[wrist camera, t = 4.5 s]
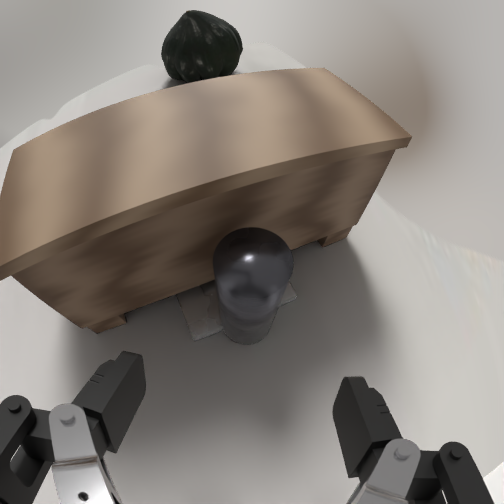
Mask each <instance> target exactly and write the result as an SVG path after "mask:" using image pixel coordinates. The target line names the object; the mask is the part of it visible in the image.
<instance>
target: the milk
mask: <svg viewBox="0 0 504 504" xmlns="http://www.w3.org/2000/svg"><path fill="white" fill-rule="evenodd" d="M483 480H484V482H485V484H486V486H487V489H488V491H489V493H490V495H491V497H492V499H493V502H494V504H504V462H503V463H501V464H500V465H499V466H498V467H497V468H495V469H494V470H493V471H492V472H490V473H489V474H488V475H487V476H485V477H484V478H483ZM447 504H448V503H447Z"/></svg>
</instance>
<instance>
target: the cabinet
mask: <svg viewBox="0 0 504 504" xmlns="http://www.w3.org/2000/svg"><path fill="white" fill-rule="evenodd" d="M411 138H412V136H411V135H410V134H409V133H408V132H406V131H405V130H404V129H403V128H402V127H401V126H400V125H399V124H398V123H396V122H395V121H394V120H393V119H392V118H391V117H389V116H388V115H387V114H386V113H384V111H382V110H381V109H380V108H379V107H377V106H376V105H375V104H374V103H372V102H371V101H370V100H368V99H367V98H366V97H365V96H363V95H362V94H361V93H359V92H358V91H357V90H355V89H354V88H353V87H351V86H350V85H348V84H347V83H346V82H344V81H343V80H341V79H340V78H338V77H337V76H336V75H334V74H333V73H331V72H330V71H328V70H326V69H325V68H303V69H284V70H271V71H261V72H252V73H244V74H237V75H230V76H224V77H218V78H212V79H207V80H201V81H196V82H192V83H187V84H183V85H178V86H174V87H170V88H166V89H162V90H158V91H155V92H151V93H148V94H144V95H141V96H137V97H134V98H131V99H128V100H125V101H122V102H119V103H116V104H113V105H110V106H107V107H105V108H102V109H99V110H97V111H94V112H91V113H89V114H86V115H84V116H81V117H79V118H77V119H74V120H72V121H70V122H67V123H65V124H63V125H61V126H59V127H56V128H54V129H52V130H50V131H48V132H46V133H44V134H42V135H40V136H38V137H36V138H34V139H32V140H30V141H29V142H27V143H25V144H23V145H21V146H19V147H18V148H16V149H14V150H13V153H12V156H11V159H10V162H9V165H8V169H7V172H6V176H5V179H4V183H3V187H2V191H1V195H0V281H1V280H3V279H5V278H7V277H9V276H12V277H13V278H15V279H16V280H17V281H18V282H19V283H21V284H22V285H23V286H24V287H25V288H27V289H28V290H29V291H30V292H32V293H33V294H34V295H36V296H37V297H38V298H39V299H41V300H42V301H43V302H45V303H46V304H47V305H49V306H50V307H51V308H53V309H54V310H56V311H57V312H58V313H60V314H61V315H63V316H64V317H66V318H67V319H68V320H70V321H71V322H73V323H74V324H76V325H77V326H79V327H80V328H85V327H88V328H89V329H91V330H92V331H94V332H95V333H100V332H103V331H106V330H108V329H111V328H114V327H117V326H120V325H122V324H125V323H126V319H125V316H124V313H126V312H129V311H131V310H134V309H137V308H140V307H142V306H145V305H148V304H150V303H153V302H156V301H159V300H161V299H164V298H167V297H169V296H172V295H175V294H177V293H180V292H183V291H185V290H188V289H191V288H193V287H196V286H199V285H201V284H204V283H207V282H209V281H212V280H215V276H214V269H213V255H214V251H215V249H216V247H217V245H218V243H219V242H220V241H221V240H222V239H223V238H224V237H225V236H226V235H227V234H229V233H231V232H232V231H235V230H237V229H241V228H246V227H258V228H263V229H266V230H269V231H271V232H273V233H275V234H277V235H278V236H280V237H281V238H282V239H283V240H284V241H285V242H286V244H287V245H288V247H289V248H290V250H293V249H295V248H298V247H300V246H303V245H306V244H308V243H311V242H313V241H316V240H318V242H319V243H320V245H321V246H322V247H325V246H327V245H330V244H332V243H334V242H337V241H339V240H342V239H344V238H346V237H347V235H348V234H349V232H350V230H351V228H352V226H354V225H356V224H357V223H358V221H359V219H360V217H361V216H362V214H363V212H364V210H365V208H366V206H367V205H368V203H369V201H370V199H371V197H372V195H373V193H374V192H375V190H376V188H377V186H378V184H379V182H380V180H381V178H382V176H383V174H384V172H385V170H386V168H387V166H388V164H389V162H390V160H391V158H392V156H393V154H394V152H395V150H396V149H399V148H404V147H407V146H408V144H409V142H410V140H411Z"/></svg>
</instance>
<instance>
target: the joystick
mask: <svg viewBox="0 0 504 504" xmlns="http://www.w3.org/2000/svg"><path fill="white" fill-rule="evenodd" d="M213 269H214V276H215V280H212V281H209V282H207V283H204V284H201V285H199V286H196V287H193V288H191V289H188V290H185V291H183V292H180V293H177V294H176V296H177V298H178V301H179V304H180V306H181V309H182V312H183V314H184V317H185V320H186V322H187V325H188V327H189V330H190V332H191V335H192V338H193V339H194V341H197V340H199V339H202V338H204V337H207V336H210V335H212V334H215V333H217V332H220V331H222V330H224V332H225V333H226V335H227V336H228V337H229V338H230V339H231V340H233V341H235V342H237V343H240V344H254V343H256V342H258V341H260V340H262V339H263V338H264V337H265V336H266V335H267V333H268V332H269V329H270V327H271V324H272V322H273V320H274V317H275V315H276V312H277V310H278V307H279V306H282V305H284V304H286V303H288V302H291V301H293V300H295V298H296V296H297V294H296V292H295V290H294V289H293V287H292V285H291V283H290V282H289V279H290V277H291V274H292V271H293V256H292V253H291V250H290V248H289V247H288V245H287V244H286V242H285V241H284V240H283V239H282V238H281V237H280V236H278V235H277V234H275V233H273V232H271V231H269V230H266V229H263V228H258V227H246V228H241V229H237V230H235V231H232V232H231V233H229V234H227V235H226V236H225V237H224V238H223V239H222V240H221V241H220V242H219V243H218V245H217V247H216V249H215V251H214V255H213Z"/></svg>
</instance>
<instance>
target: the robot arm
mask: <svg viewBox="0 0 504 504" xmlns="http://www.w3.org/2000/svg"><path fill="white" fill-rule="evenodd" d="M145 390H146V381H145V373H144V365H143V358H142V355H140V354H135V353H131V352H127V351H123V352H122V353H121V354H120V355H119V357H118V358H117V359H116V361H113V360H109V361H107V362H106V363H104V364H102V365H101V366H100V367H99V368H98V369H97V371H96V372H95V374H94V375H93V376H92V377H91V378H90V381H88V382H87V384H86V385H85V386H84V387H83V389H82V390H81V391H80V393H79V394H78V395H77V397H76V398H75V399H74V401H73V402H72V403H71V404H61V405H58V406H56V407H55V408H54V409H53V410H52V411H46V410H40V409H34V408H32V406H31V404H30V402H29V401H28V399H26V398H25V397H23V396H20V395H13V396H9V397H7V398H6V399H4V400H3V401H2V403H1V404H0V504H32V503H33V501H34V499H35V497H36V495H37V493H38V491H39V489H40V487H41V485H42V483H43V481H44V479H45V477H46V475H47V473H48V471H49V469H50V467H51V465H52V473H53V477H54V482H55V486H56V490H57V494H58V497H59V501H60V504H123V503H122V501H121V499H120V497H119V495H118V493H117V490H116V488H115V486H114V483H113V481H112V478H111V476H110V473H109V471H108V468H107V465H106V463H105V460H104V458H103V456H104V454H105V452H106V450H108V451H111V452H114V453H117V450H118V448H119V446H120V444H121V442H122V440H123V438H124V436H125V434H126V432H127V430H128V428H129V426H130V424H131V422H132V420H133V417H134V415H135V413H136V411H137V409H138V407H139V405H140V403H141V401H142V399H143V397H144V395H145ZM333 419H334V423H335V427H336V430H337V434H338V438H339V442H340V446H341V450H342V454H343V458H344V462H345V466H346V470H347V474H348V478H354V477H359V480H360V483H359V484H358V485H357V487H356V489H355V490H354V492H353V493H352V495H351V497H350V498H349V500H348V501H347V503H346V504H446V502H445V499H444V496H443V493H442V490H443V492H444V494H445V497H446V500H447V502H448V504H494V502H493V499H492V497H491V495H490V493H489V491H488V489H487V486H486V484H485V482H484V480H483V478H482V476H481V474H480V472H479V470H478V468H477V466H476V464H475V462H474V460H473V458H472V456H471V454H470V453H469V451H468V449H467V448H466V447H465V446H464V445H463V444H461V443H458V442H448V443H446V444H444V445H443V446H442V447H441V449H440V450H439V451H422V450H419V448H418V446H417V445H416V444H415V443H413V442H412V441H410V440H407V439H403V438H402V436H401V434H400V432H399V429H398V427H397V425H396V423H395V421H394V419H393V417H392V415H391V413H390V411H389V409H388V407H387V406H386V403H385V401H384V399H383V397H382V395H381V394H380V393H379V392H378V391H376V390H375V389H374V388H369V387H368V385H367V383H366V381H365V379H364V377H362V376H360V377H344V378H343V380H342V383H341V386H340V388H339V391H338V394H337V397H336V399H335V402H334V405H333ZM20 445H21V446H20ZM19 446H20V447H19ZM18 447H19V449H18ZM17 449H18V451H17V452H16V450H17ZM15 452H16V454H15V455H14V453H15ZM13 455H14V457H13ZM12 457H13V459H12V460H11V458H12ZM10 461H11V462H10ZM53 462H54V463H53Z"/></svg>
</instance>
